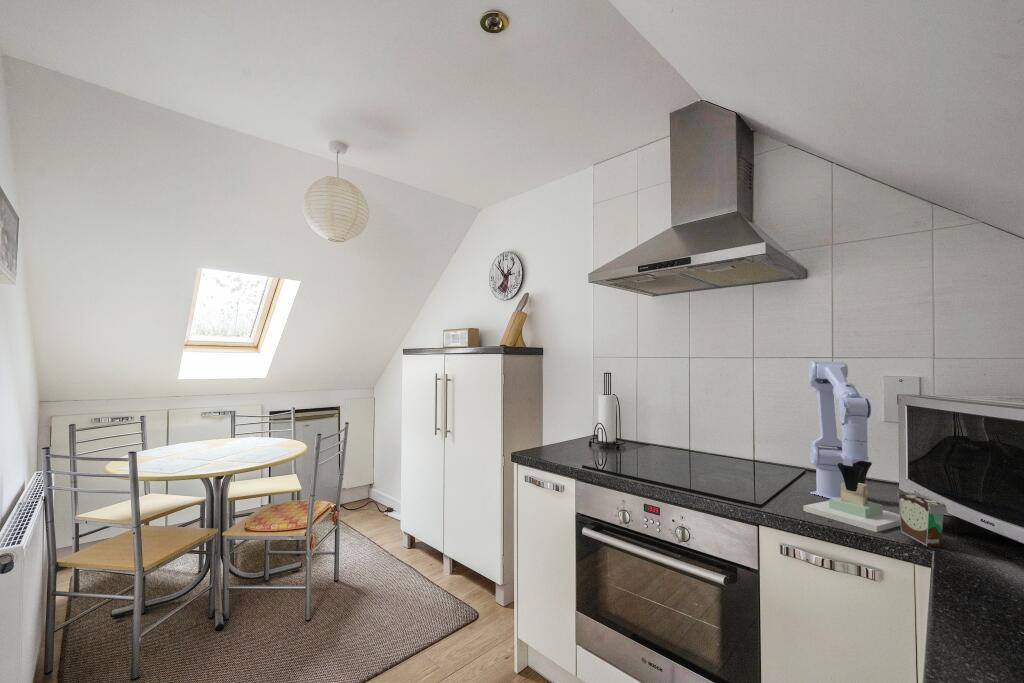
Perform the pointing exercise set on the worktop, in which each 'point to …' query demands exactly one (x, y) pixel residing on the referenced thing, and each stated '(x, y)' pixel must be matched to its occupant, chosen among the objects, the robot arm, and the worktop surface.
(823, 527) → the worktop surface
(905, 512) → the food container
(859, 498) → the maple cube
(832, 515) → the base board
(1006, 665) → the worktop surface
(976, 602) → the worktop surface
